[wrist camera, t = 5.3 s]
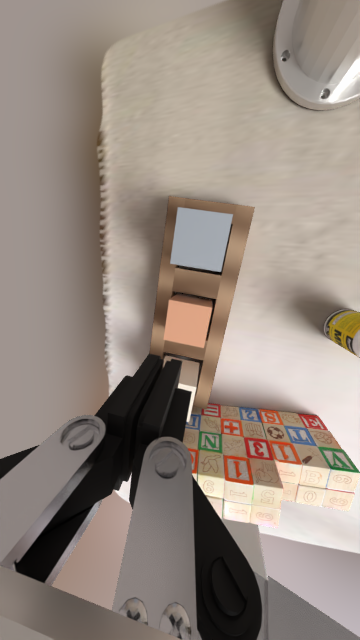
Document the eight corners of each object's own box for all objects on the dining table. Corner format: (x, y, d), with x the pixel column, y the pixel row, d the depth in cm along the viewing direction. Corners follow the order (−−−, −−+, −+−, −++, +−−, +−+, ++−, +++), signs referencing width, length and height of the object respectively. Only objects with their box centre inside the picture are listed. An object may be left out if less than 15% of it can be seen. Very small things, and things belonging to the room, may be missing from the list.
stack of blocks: (318, 413, 30) (386, 505, 19) (311, 445, 32) (369, 548, 20) (184, 399, 34) (169, 470, 22) (183, 429, 35) (170, 510, 23)
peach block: (177, 293, 28) (169, 299, 22) (212, 299, 27) (212, 307, 22) (172, 325, 29) (163, 339, 24) (205, 332, 29) (203, 348, 23)
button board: (173, 204, 26) (168, 194, 22) (249, 214, 25) (255, 206, 21) (150, 383, 34) (143, 395, 30) (206, 397, 33) (206, 411, 29)
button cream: (165, 355, 28) (154, 377, 23) (199, 362, 28) (196, 387, 22) (161, 384, 30) (149, 412, 24) (193, 392, 29) (189, 422, 24)
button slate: (186, 222, 23) (178, 207, 18) (227, 227, 23) (233, 214, 17) (179, 264, 25) (170, 263, 19) (218, 271, 24) (220, 272, 18)
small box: (213, 469, 36) (214, 573, 24) (248, 470, 35) (269, 581, 23) (218, 501, 38) (221, 613, 26) (251, 503, 37) (271, 622, 25)
